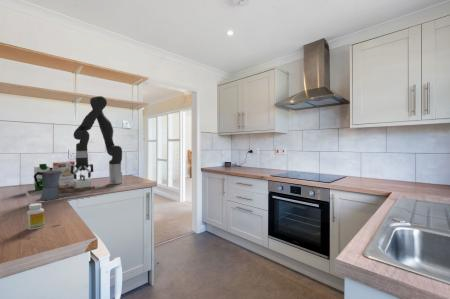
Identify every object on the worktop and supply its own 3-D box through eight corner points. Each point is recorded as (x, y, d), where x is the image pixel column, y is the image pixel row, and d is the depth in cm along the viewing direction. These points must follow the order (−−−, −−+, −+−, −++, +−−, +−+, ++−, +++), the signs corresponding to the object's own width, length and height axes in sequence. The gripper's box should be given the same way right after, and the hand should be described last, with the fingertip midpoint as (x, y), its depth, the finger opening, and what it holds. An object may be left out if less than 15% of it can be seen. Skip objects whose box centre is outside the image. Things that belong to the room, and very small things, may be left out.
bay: (90, 187, 171) (89, 176, 170) (95, 190, 161) (94, 178, 161) (53, 192, 154) (53, 180, 154) (56, 195, 145) (56, 182, 145)
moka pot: (67, 197, 140) (66, 166, 140) (40, 203, 126) (39, 169, 125) (57, 196, 143) (56, 166, 143) (29, 202, 129) (28, 168, 128)
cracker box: (59, 190, 161) (58, 162, 161) (52, 190, 162) (51, 162, 162) (75, 186, 175) (75, 161, 174) (69, 186, 176) (68, 160, 176)
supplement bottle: (47, 225, 92) (47, 202, 92) (34, 230, 87) (34, 206, 86) (37, 224, 93) (36, 202, 92) (23, 229, 87) (23, 206, 87)
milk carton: (36, 192, 155) (36, 164, 154) (33, 190, 160) (32, 164, 159) (52, 190, 162) (51, 163, 161) (47, 188, 167) (47, 163, 166)
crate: (87, 186, 168) (87, 173, 168) (91, 188, 161) (91, 175, 161) (73, 188, 162) (73, 174, 161) (77, 190, 154) (76, 176, 154)
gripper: (91, 156, 168) (91, 176, 169) (69, 157, 158) (69, 179, 159) (94, 156, 163) (94, 178, 164) (71, 157, 153) (72, 180, 153)
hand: (82, 178), depth 161 cm, fingers open, 8 cm apart
